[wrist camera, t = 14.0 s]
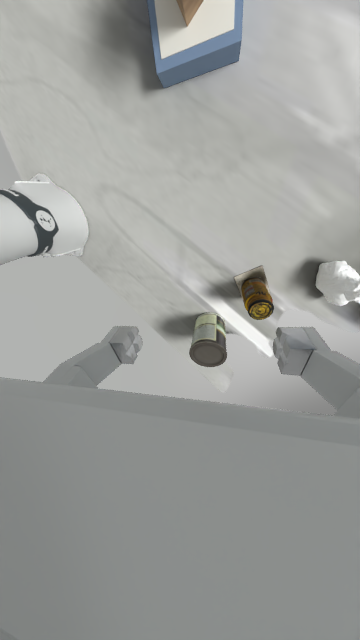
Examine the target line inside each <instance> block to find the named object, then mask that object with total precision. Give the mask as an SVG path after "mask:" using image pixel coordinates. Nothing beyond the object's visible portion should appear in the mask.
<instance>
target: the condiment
mask: <svg viewBox="0 0 360 640" xmlns="http://www.w3.org/2000/svg"><path fill="white" fill-rule="evenodd" d="M234 279H235V281H236V284H237V286H238V289H239V291H240V294H241V296H242V299H243V302H244V305H245V308H246V310H247V311H248V313H249V315H250V317H252V318H253V319H256V320H262V319H265V318H267V317H269V316H270V315H271V314H272V313H273V310H274V306H273V304H272V303H273V302H272V297H271V296H270V294H269V293H270V290H269V287H268V283H267V280H266V276H265V273H264V269H263V266H260V267H257V268H255V269H252V270H250V271H247V272H245V273H243V274H240V275H238V276H236V277H234ZM244 279H245V280H244ZM243 281H244V282H243Z"/></svg>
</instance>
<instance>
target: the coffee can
mask: <svg viewBox="0 0 360 640" xmlns="http://www.w3.org/2000/svg"><path fill="white" fill-rule="evenodd" d="M189 354H190V357H191V359H192V360H193V361H194V362H195V363H197V364H199V365H201V366H205V367H215V366H219V365H221V364H223V363H224V362H225V360H226V358H227V352H226V335H225V321H224V319H223V318H222V317H221V316H220V315H218V314H216V313H211V312H208V313H203V314H201V315H200V316H199V317H198V318H197V319H196V322H195V329H194V334H193V339H192V344H191V348H190V352H189Z"/></svg>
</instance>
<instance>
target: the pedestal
mask: <svg viewBox="0 0 360 640" xmlns="http://www.w3.org/2000/svg"><path fill="white" fill-rule="evenodd" d="M147 4H148V12H149V19H150V26H151V34H152V41H153V49H154V56H155V64H156V71H157V75H158V77H159V79H160V81H161V83H162V85H163V87H164V88H166V87H169V86H172V85H174V84H177V83H180V82H183V81H185V80H188V79H191V78H193V77H196V76H199V75H202V74H204V73H207V72H210V71H212V70H215V69H218V68H220V67H223V66H226V65H229V64H231V63H234V62H237V61H239V54H240V47H241V40H242V17H243V0H204V1H203V2H202V4H201V6H200V7H199V9H198V10H197V12H196V14H195V15H194V17H193V18H192V20H191V22H190V23H189V25H188V27H187V25H186V23H185V20H184V18H183V16H182V13H181V11H180V8H179V6H178V3H177V1H176V0H147Z"/></svg>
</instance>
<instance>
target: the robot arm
mask: <svg viewBox="0 0 360 640" xmlns="http://www.w3.org/2000/svg"><path fill="white" fill-rule="evenodd" d="M88 234H89V229H88V223H87V220H86V217H85V214H84V212H83V210H82V208H81V207H80V205H79V204H78V202H77V201H76V200H75V199H74V198H73V197H72V196H71V195H70V194H69V193H68V192H67V191H65V190H64V189H62V188H60V187H59V186H57V185H55V184H54V183H53V182H52V181H51V180H50V179H49V178H48V177H47V176H46V175H45V174H43V173H38V174H36V175H35V176H34V177H33V178H31V179H30V180H29V181H15V184H14V185H12V186H11V187H10V188H9V189H8V190H7V189H0V265H2V264H5V263H7V262H10V261H13V260H16V259H19V258H22V257H25V256H28V257H30V256H31V257H32V256H38V255H42V256H43V257H48V256H53V257H54V256H60V255H72V256H82V255H83V250H84V245H85V243H86V241H87V239H88ZM138 333H139V330H138V328H137V327H134V326H115V327H113V328H112V329H111V330H110V332H109V333H108V334H107V335H106V336H105V338H104V339H103V340H102V341H101V342H100V343H97V344H95V345H93V346H92V347H90V348H88V349H86V350H84V351H83V352H81V353H79V354H77V355H76V356H74V357H72V358H70V359H68V360H67V361H65V362H64V363H61V364H60V365H59V366H58V367H57V368H56V369H55V370H54V371H53V372H52V373H51V374H50V375H49V376H48V378H46V380H45V381H44V382H36V381H28V380H18V379H10V378H1V377H0V640H360V364H358V363H357V362H355V361H353V360H351V359H349V358H348V357H346V356H344V355H342V354H340V353H338V352H337V351H331V349H330V348H329V347H328V345H327V344H326V343H325V341H324V340H323V339H322V338H321V336H320V335H319V333H318V332H317V331H316V329H315V328H313V327H278V328H277V330H276V335H277V338H275V339H274V342H273V352H274V355H275V357H276V358H278V359H279V360H278V366H279V369H280V372H281V374H287V375H299V376H301V377H302V378H303V379H304V380H305V381H306V382H307V383H308V384H309V385H310V386H311V387H312V388H314V389H315V390H316V391H317V392H318V393H319V394H320V395H321V396H322V397H323V398H324V399H325V400H326V401H328V402H329V403H330V404H331V405H332V406H333V407H334V408H335V409H336V410H337V412H336V413H335V414H334V415H324V414H315V413H306V412H298V411H289V410H280V409H271V408H262V407H254V406H245V405H236V404H228V403H219V402H210V401H200V400H193V399H184V398H175V397H167V396H158V395H149V394H141V393H132V392H123V391H114V390H105V389H98V387H97V385H98V384H99V383H100V382H101V381H102V380H104V379H105V378H106V377H107V376H108V375H109V374H111V373H112V372H113V371H114V370H115V369H116V368H117V367H119V366H120V365H121V364H133V363H134V361H135V360H136V358H137V352H139V351H140V350H141V348H142V338H141V336H140V335H138Z"/></svg>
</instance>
